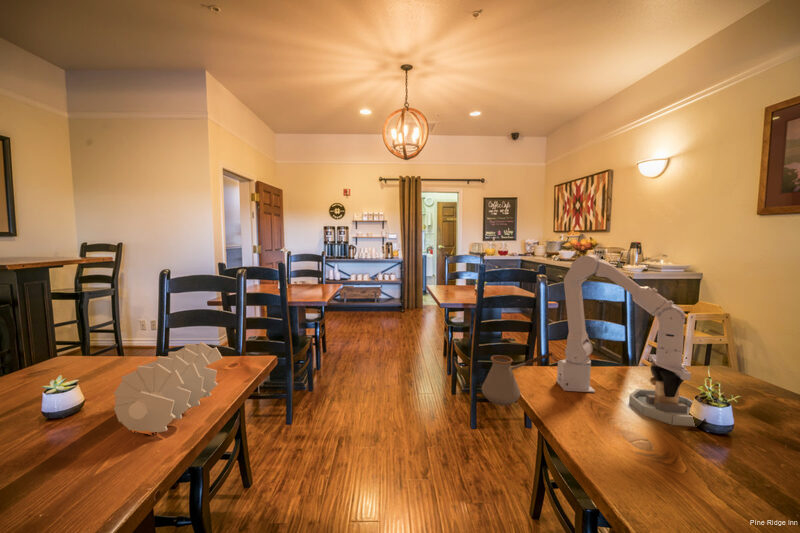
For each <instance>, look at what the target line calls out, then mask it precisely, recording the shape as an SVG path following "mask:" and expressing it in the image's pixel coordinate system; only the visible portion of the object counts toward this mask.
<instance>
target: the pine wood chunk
mask: <svg viewBox="0 0 800 533" xmlns="http://www.w3.org/2000/svg"><path fill="white" fill-rule="evenodd" d="M680 388H681V386H679V388H678V390H677V392H676V394H675V397H666V396H665V393H664V383H663V381H657V380H655V389H654V390H655V398H654V404H655V405H656V402H664V403H678V400H679V396H680Z"/></svg>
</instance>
